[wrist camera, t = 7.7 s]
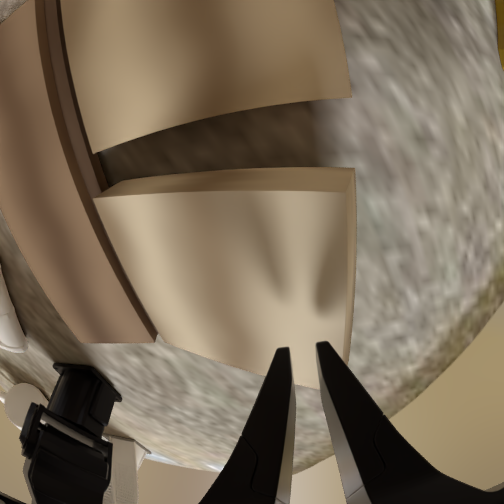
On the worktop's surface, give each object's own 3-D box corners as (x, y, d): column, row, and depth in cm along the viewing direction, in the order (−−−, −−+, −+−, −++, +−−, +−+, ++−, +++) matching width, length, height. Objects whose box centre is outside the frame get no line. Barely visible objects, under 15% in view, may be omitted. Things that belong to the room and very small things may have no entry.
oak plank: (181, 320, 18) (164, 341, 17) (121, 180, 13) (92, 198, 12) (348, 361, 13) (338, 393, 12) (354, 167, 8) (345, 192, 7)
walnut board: (89, 324, 19) (80, 342, 18) (-15, 59, 8) (-35, 62, 6) (171, 319, 19) (165, 342, 17) (67, -8, 7) (46, -14, 5)
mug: (51, 393, 30) (35, 436, 23) (70, 418, 35) (59, 454, 28) (-1, 366, 28) (-19, 402, 22) (21, 394, 34) (7, 427, 27)
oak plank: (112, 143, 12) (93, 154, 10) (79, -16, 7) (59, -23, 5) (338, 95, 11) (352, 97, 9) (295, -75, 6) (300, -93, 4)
